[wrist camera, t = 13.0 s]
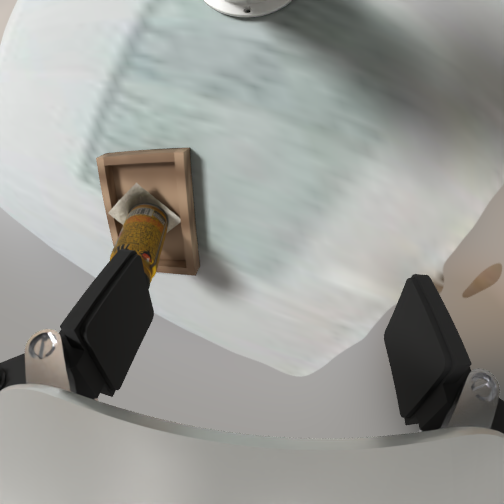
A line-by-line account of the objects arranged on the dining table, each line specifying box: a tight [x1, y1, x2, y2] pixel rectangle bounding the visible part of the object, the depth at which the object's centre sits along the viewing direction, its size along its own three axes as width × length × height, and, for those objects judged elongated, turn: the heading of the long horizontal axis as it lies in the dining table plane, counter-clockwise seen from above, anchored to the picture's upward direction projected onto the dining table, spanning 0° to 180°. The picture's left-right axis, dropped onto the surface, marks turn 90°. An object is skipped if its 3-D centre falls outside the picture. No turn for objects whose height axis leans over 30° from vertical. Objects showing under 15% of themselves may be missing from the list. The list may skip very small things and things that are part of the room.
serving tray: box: [96, 148, 200, 276], centre depth 39 cm, size 18×13×2 cm
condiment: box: [108, 183, 181, 289], centre depth 35 cm, size 7×8×12 cm
